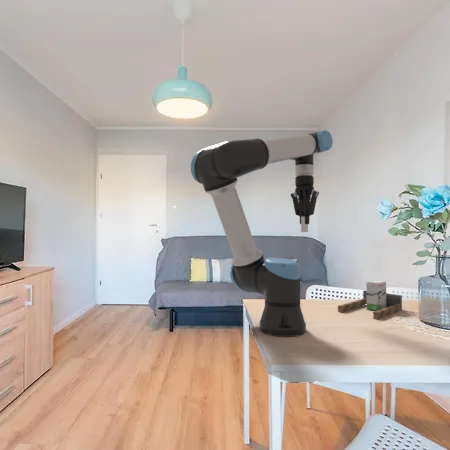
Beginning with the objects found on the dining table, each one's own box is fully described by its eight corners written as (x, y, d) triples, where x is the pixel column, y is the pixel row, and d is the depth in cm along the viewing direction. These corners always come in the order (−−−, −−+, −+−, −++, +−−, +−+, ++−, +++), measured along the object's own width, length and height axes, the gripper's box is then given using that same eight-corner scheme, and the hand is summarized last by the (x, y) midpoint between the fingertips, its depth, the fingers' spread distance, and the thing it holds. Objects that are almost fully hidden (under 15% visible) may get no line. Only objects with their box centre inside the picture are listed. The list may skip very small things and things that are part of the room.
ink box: (377, 311, 138) (377, 282, 138) (365, 309, 141) (365, 281, 142) (387, 308, 143) (386, 280, 143) (375, 306, 147) (375, 279, 147)
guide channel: (377, 319, 125) (376, 303, 125) (338, 311, 137) (337, 297, 137) (401, 309, 141) (401, 295, 141) (365, 303, 153) (364, 290, 153)
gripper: (323, 175, 139) (323, 232, 139) (296, 178, 149) (297, 232, 148) (312, 173, 134) (312, 232, 134) (286, 176, 144) (286, 232, 143)
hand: (304, 232), depth 141 cm, fingers closed
